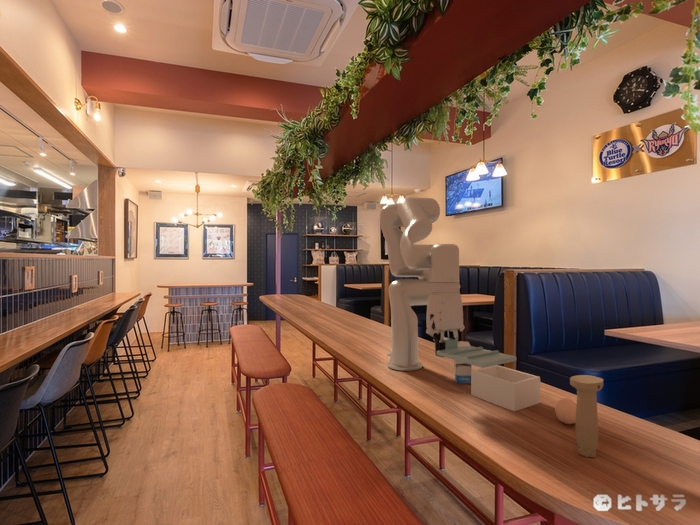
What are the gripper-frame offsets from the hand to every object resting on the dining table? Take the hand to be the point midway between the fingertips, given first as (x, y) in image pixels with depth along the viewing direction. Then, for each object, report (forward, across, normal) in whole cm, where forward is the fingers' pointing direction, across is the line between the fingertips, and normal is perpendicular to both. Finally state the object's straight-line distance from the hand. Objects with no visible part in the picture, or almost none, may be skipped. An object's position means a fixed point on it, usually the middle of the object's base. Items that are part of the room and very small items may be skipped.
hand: (446, 354), depth 105 cm
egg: (+13, -14, +26) cm, 32 cm away
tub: (+13, -15, +8) cm, 21 cm away
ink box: (+13, -18, -10) cm, 24 cm away
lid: (-1, 0, +8) cm, 8 cm away
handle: (+13, -3, +36) cm, 38 cm away
